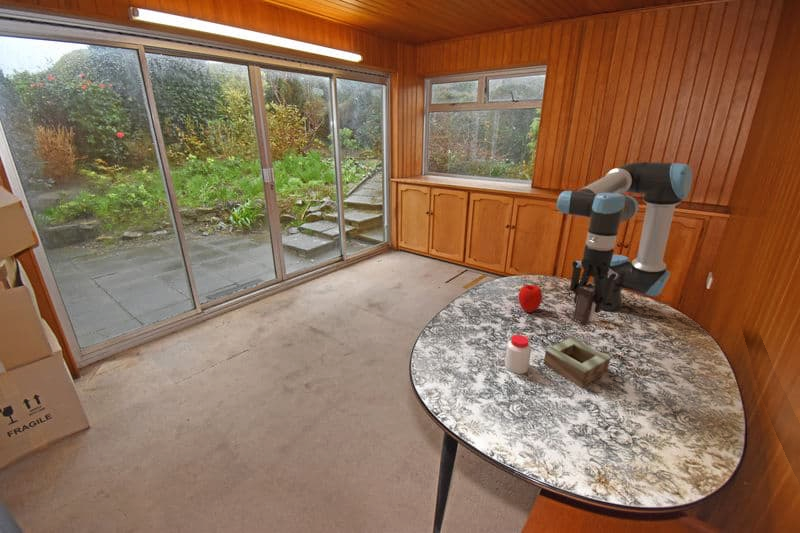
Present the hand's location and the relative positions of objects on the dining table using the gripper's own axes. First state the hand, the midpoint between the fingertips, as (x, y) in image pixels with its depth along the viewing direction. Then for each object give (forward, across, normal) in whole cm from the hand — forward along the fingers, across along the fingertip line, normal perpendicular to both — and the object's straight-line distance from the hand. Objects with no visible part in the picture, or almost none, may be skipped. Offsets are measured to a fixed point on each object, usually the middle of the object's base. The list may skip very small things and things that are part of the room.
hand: (584, 316), depth 110 cm
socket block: (+20, 0, 0) cm, 20 cm away
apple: (+20, -36, +20) cm, 46 cm away
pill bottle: (+20, -11, -16) cm, 28 cm away
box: (+2, 0, 0) cm, 2 cm away
